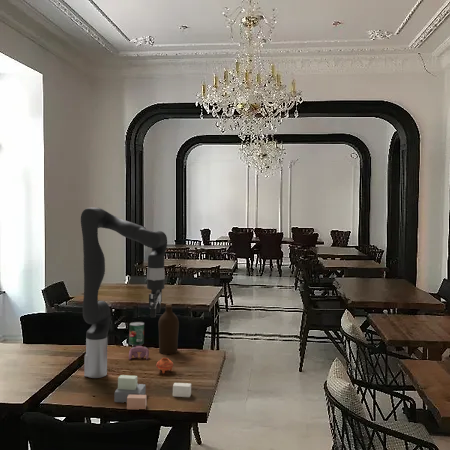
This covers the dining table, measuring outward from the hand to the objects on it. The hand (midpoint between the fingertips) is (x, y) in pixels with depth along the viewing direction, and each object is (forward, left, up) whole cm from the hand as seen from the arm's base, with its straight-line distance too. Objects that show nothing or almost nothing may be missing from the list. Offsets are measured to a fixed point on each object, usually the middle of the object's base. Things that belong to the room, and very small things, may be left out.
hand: (155, 315), depth 229 cm
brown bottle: (-3, +46, -30) cm, 55 cm away
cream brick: (+14, -12, -30) cm, 35 cm away
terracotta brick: (-1, -27, -30) cm, 40 cm away
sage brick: (-7, -17, -26) cm, 32 cm away
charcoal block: (-6, -18, -30) cm, 35 cm away
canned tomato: (-23, +58, -30) cm, 70 cm away
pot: (+1, +16, -30) cm, 34 cm away
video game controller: (-15, +33, -30) cm, 48 cm away
